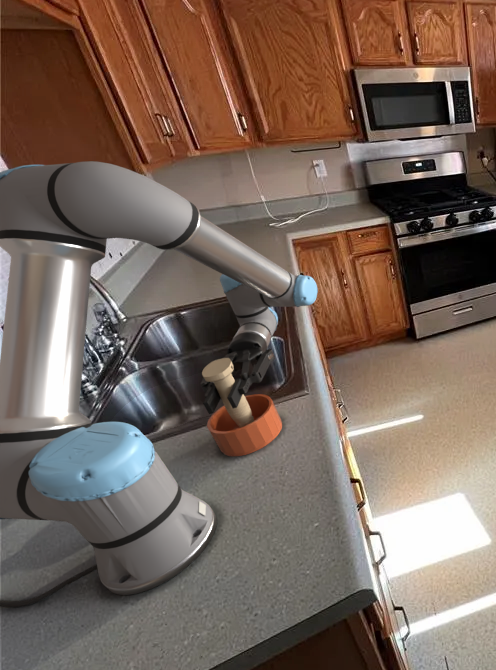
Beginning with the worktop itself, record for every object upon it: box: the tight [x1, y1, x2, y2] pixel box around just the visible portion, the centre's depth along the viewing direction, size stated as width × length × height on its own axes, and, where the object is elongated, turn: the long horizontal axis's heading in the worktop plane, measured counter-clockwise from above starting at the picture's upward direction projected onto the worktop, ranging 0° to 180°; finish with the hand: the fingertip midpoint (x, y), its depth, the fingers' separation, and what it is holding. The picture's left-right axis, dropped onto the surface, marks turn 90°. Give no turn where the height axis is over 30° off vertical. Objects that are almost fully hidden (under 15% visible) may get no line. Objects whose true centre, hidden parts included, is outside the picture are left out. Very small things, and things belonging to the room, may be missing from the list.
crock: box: [206, 393, 283, 457], centre depth 89 cm, size 12×12×6 cm
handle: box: [201, 357, 254, 428], centre depth 86 cm, size 5×6×15 cm
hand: (220, 405), depth 80 cm, fingers closed on handle, 3 cm apart
